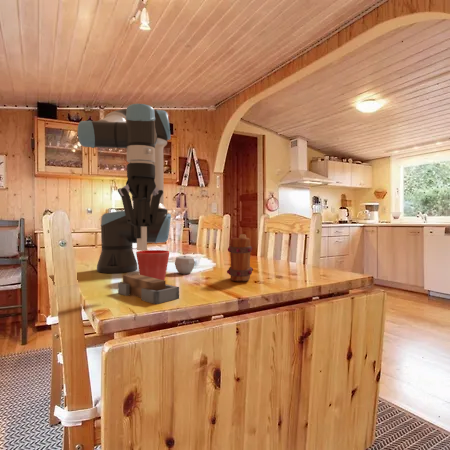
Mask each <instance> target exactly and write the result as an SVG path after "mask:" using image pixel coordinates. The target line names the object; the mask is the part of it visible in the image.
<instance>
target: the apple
mask: <svg viewBox="0 0 450 450" xmlns="http://www.w3.org/2000/svg"><path fill="white" fill-rule="evenodd" d="M195 263H196V262H195V258H194V257H193V256H190V255H179V256H176V258H175V261H174V265H175V266H174V267H175V269H176V271H177V273H179V274H183V275H187V274H191V273H192V272H193V269H194V267H195Z"/></svg>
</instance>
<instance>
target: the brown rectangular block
mask: <svg viewBox="0 0 450 450" xmlns="http://www.w3.org/2000/svg"><path fill="white" fill-rule="evenodd" d="M122 282H123V283H127V284H129V291H130V295H131V296H134V297H137V298H141V289H142V288H147V289H151V290H155V291H158V290H163V289H166V288H165V284H166V280H160V279H156V278H152V277H148V276H144V275H140V273H129V274H124V275H122Z"/></svg>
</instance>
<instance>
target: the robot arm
mask: <svg viewBox="0 0 450 450" xmlns="http://www.w3.org/2000/svg"><path fill="white" fill-rule="evenodd" d="M77 124H78V125H77V138H78V142H79V144H80V146H81V147H85V148H92V149H95V148H100V149H101V148H103V149H105V148H106V149H107V148H108V149H110V148H111V149H126V162H128V163H127V165H126V177H127V180H126V182H125V185H124V186H123V187H120V188H118V189H117V193H118V194H119V195H120V197H121V201H122V206H123V210H121V211H112V212H106V213H103V214H102V216H101V218H100V219H101V220H100V229H101V231H100V233H101V234H100V236H101V237H100V238H101V239H100V240H101V251H100V256H99V258H98V261H97V265H96V272H98V273H104V274H122V273H123V274H124V273H129V272H133V271H137V270H138V261H137V258H136V256H135V253H134V250H133V247H134V246H133V244H136V251H146V250H148V244H158V243H166V242H168V240H169V236H170V229H171V228H170V227H171V220H172V219H171V218H172V214H171V213H168V208H166V206H165V205H164V202H165V199H164V198H165V197H164V192H165V191H164V183H165V181H164V180H165V179H164V177H165V175H164V148H165V147H166V146H167V145H168V141H169V140H171V139H172V137H171V136H172V135H171V130H170V129H171V127H170V120H169V115H168V112H167V111H166V110H163V109H157V108H153V107H152V106H151V105H149V104H145V103H132V104H129V105H128V106H127V107H126V108H122V109H117V110H114V111H111V112H109V113H107V114H106V115H105V116H104V117H103V118H102V119H99V120H81V121H79V122H78V123H77ZM130 194H131V195H130Z"/></svg>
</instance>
